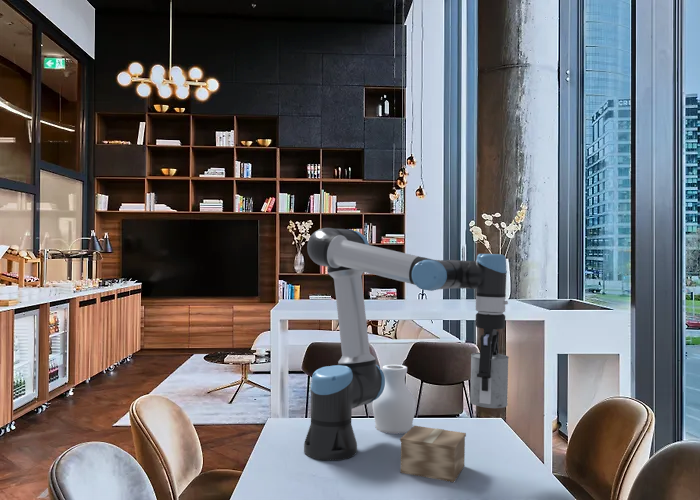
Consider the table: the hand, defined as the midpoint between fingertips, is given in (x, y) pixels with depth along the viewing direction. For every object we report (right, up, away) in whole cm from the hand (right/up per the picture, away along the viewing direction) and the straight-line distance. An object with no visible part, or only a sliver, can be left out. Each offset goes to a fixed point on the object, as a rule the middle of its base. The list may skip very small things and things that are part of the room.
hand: (488, 398), depth 145 cm
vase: (-22, -20, +37) cm, 47 cm away
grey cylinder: (0, -1, 0) cm, 1 cm away
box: (-14, -19, +2) cm, 24 cm away
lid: (-14, -11, +2) cm, 18 cm away
